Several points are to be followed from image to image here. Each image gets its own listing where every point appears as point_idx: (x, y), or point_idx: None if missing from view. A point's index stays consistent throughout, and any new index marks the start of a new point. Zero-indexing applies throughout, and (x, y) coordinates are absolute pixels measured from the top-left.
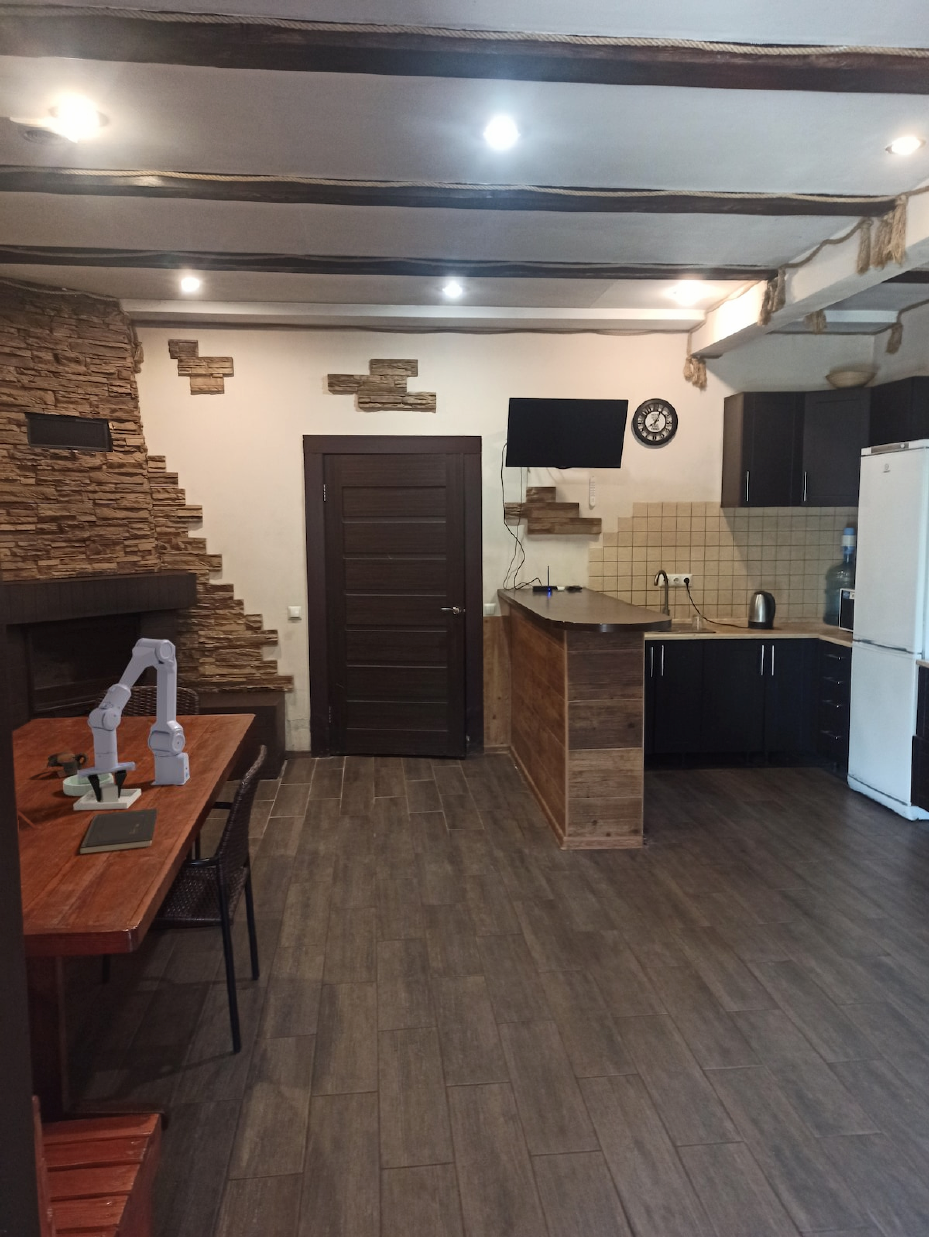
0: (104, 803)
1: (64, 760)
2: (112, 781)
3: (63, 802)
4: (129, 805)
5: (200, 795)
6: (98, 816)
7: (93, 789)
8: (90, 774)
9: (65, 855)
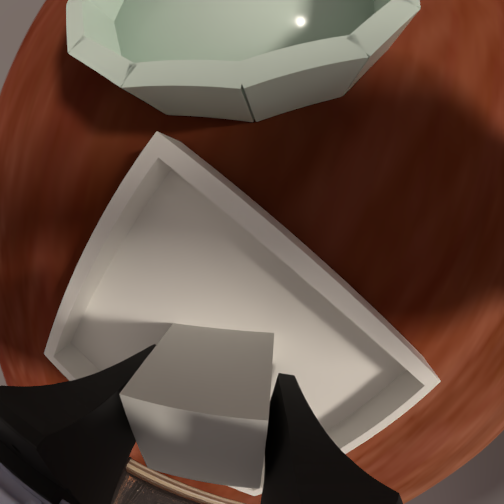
0: None
1: None
2: (396, 35)
3: (58, 135)
4: None
5: (487, 439)
6: (135, 488)
7: (100, 372)
8: (17, 484)
9: None
